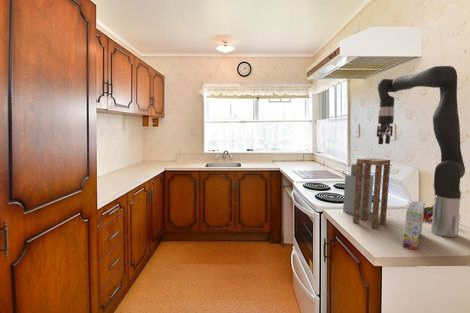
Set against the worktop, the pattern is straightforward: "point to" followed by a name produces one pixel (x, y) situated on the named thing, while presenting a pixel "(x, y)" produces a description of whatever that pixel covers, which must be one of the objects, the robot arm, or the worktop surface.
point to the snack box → (413, 224)
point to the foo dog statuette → (428, 212)
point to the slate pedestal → (350, 194)
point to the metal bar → (354, 167)
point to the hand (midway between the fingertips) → (384, 144)
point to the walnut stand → (377, 186)
